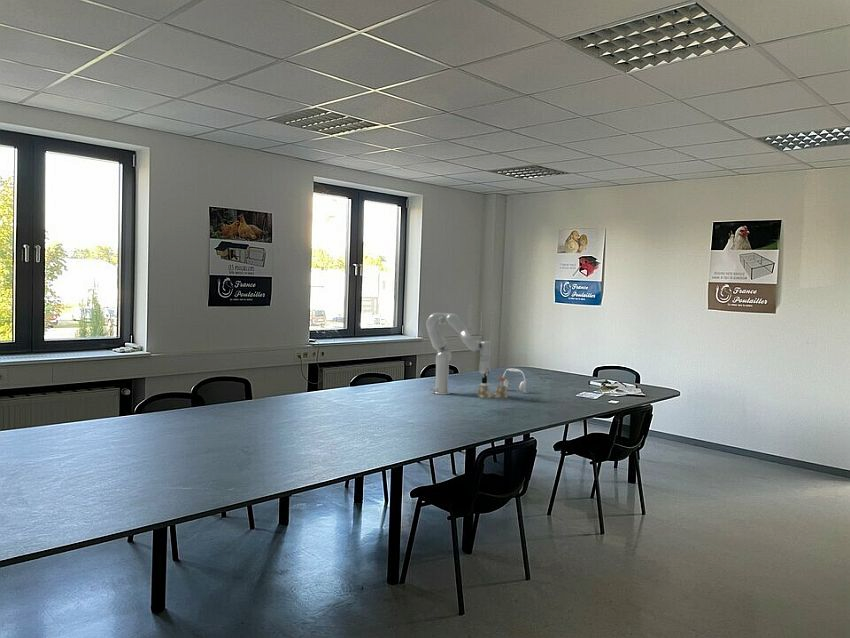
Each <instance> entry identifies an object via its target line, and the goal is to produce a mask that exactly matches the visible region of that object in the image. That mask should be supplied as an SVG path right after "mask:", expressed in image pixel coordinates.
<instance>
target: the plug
mask: <svg viewBox="0 0 850 638" xmlns="http://www.w3.org/2000/svg"><path fill="white" fill-rule="evenodd" d="M479 384H480V385H479V386H482V387H486V386H488V385H489V384H488V382H487V383H482V382H480V383H479ZM488 387H489V386H488Z"/></svg>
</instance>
